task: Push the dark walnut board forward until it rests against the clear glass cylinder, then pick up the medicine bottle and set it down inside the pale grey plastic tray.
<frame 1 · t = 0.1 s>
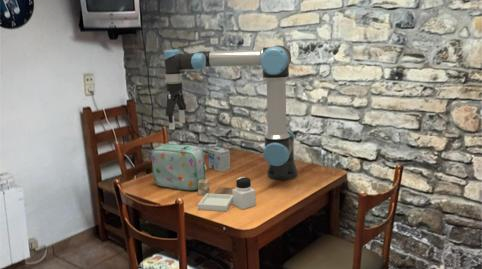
hand: (177, 126, 220), 28 cm above the table, tool pointing down, fingers open, 13 cm apart
tray: (216, 204, 194), on the table
medicine bottle: (244, 205, 192), on the table
light bulb box: (219, 169, 242), on the table
clear glass cylinder: (204, 193, 207), on the table
board: (227, 195, 205), on the table
lunch box: (181, 187, 218), on the table
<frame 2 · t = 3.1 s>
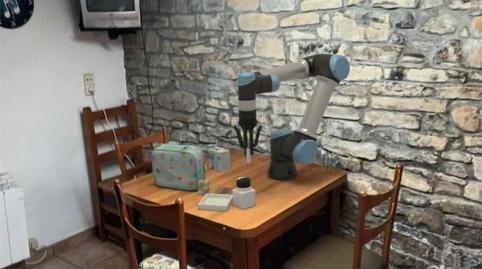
hand: (249, 162, 198), 16 cm above the table, tool pointing down, fingers closed
nothing on the table moved.
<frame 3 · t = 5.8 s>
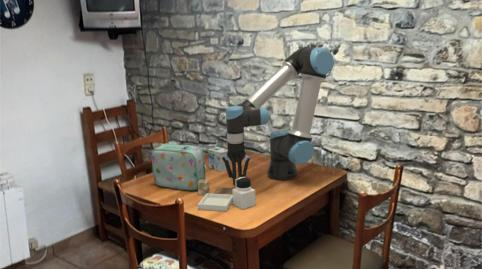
hand: (238, 192, 203), 1 cm above the table, tool pointing down, fingers closed
board: (226, 195, 205), on the table, touching gripper
everything else where it was.
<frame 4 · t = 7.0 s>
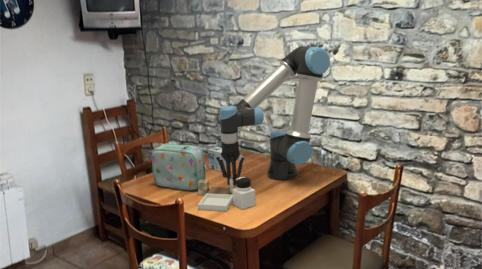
hand: (232, 191, 204), 1 cm above the table, tool pointing down, fingers closed
board: (220, 195, 205), on the table
everything else where it was.
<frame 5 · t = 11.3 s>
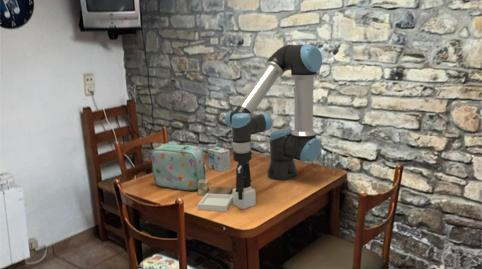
hand: (244, 201, 192), 2 cm above the table, tool pointing down, fingers closed on medicine bottle, 10 cm apart
medicine bottle: (244, 205, 192), on the table, touching gripper
everything else where it was.
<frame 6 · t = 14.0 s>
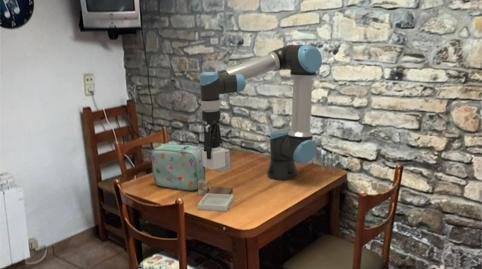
hand: (214, 162, 189), 19 cm above the table, tool pointing down, fingers closed on medicine bottle, 10 cm apart
medicine bottle: (214, 166, 190), point 17 cm above the table, touching gripper
everything else where it was.
when the fingers open (5 cm above the table, at t = 17.1 s): medicine bottle drops 2 cm, resting on tray.
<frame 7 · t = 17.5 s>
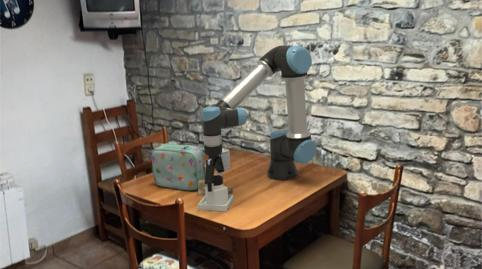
hand: (215, 192, 192), 6 cm above the table, tool pointing down, fingers open, 13 cm apart
medicine bottle: (217, 203, 194), point 1 cm above the table, touching tray
everything else where it was.
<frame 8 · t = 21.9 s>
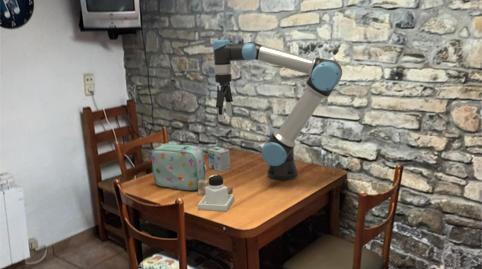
hand: (225, 118, 214), 32 cm above the table, tool pointing down, fingers open, 13 cm apart
nothing on the table moved.
at the end: board 0.3 cm from the target spot on the table beside the clear glass cylinder, on the table; medicine bottle 0.6 cm from the tray (horizontally); medicine bottle tilted 0° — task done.
